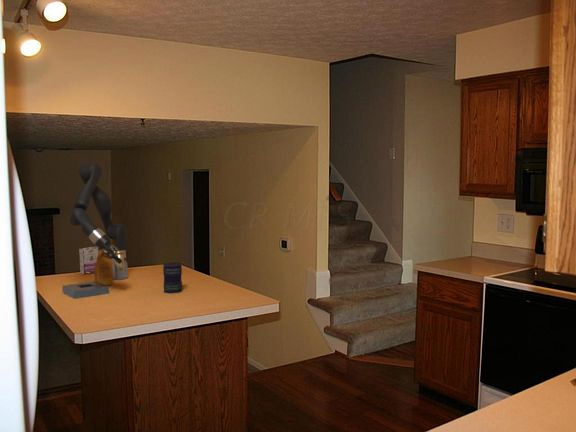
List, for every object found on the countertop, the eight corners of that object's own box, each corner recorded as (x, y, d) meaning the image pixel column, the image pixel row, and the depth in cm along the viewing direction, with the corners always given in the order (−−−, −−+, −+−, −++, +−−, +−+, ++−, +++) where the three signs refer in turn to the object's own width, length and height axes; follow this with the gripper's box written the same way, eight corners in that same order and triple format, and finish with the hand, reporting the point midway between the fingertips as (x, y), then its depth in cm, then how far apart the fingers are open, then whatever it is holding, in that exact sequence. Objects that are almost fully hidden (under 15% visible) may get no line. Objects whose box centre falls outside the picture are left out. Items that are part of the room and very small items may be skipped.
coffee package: (111, 282, 313) (110, 245, 311) (114, 286, 301) (113, 247, 300) (93, 283, 309) (92, 245, 307) (95, 287, 297) (94, 248, 296)
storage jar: (177, 293, 282) (177, 266, 280) (160, 293, 284) (159, 265, 282) (185, 289, 291) (184, 262, 290) (168, 289, 293) (167, 262, 292)
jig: (95, 288, 296) (95, 281, 296) (109, 293, 282) (108, 286, 282) (62, 292, 284) (62, 285, 284) (74, 298, 271) (74, 291, 270)
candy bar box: (95, 271, 348) (94, 246, 346) (99, 272, 345) (99, 247, 343) (79, 273, 339) (78, 248, 338) (84, 274, 336) (83, 248, 334)
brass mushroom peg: (122, 268, 284) (121, 249, 283) (126, 269, 280) (126, 251, 279) (112, 269, 281) (111, 250, 280) (116, 271, 276) (116, 252, 276)
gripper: (98, 235, 272) (122, 259, 272) (110, 232, 286) (132, 254, 287) (89, 245, 273) (112, 269, 273) (100, 242, 287) (123, 264, 287)
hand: (122, 261), depth 280 cm, fingers closed on brass mushroom peg, 4 cm apart
